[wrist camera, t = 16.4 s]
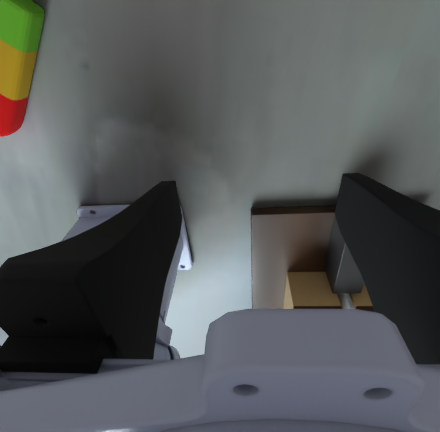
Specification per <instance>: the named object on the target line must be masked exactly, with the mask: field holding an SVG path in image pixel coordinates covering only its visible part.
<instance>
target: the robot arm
mask: <svg viewBox="0 0 440 432" xmlns="http://www.w3.org/2000/svg"><path fill="white" fill-rule="evenodd" d="M92 210H93V211H95V212H93V211H92ZM77 214H78V216H79V220H78V221H77V222H76V223H75V225H74V226H73V227H72V228H71V230H70V231H69V232H68V233H67V235H66V236H65V237H64V238H63V240H62V241H61V242H59V243H56V244H53V245H50V246H48V247H45V248H42V249H38V250H35V251H32V252H28V253H25V254H22V255H18V256H15V257H11V258H8V259H7V260H6V261H5V262H4V263H3V265H2V266H1V267H0V327H1V328H2V329H3V330H4V331H5V332H6V333H7V334H8V335H9V337H8V338H7V340H6V341H5V342H4V344H3V345H2V346H1V345H0V432H440V210H437V209H434V208H432V207H429V206H427V205H424V204H422V203H420V202H418V201H415V200H413V199H411V198H409V197H407V196H405V195H402V194H400V193H398V192H396V191H394V190H392V189H390V188H389V187H387V186H385V185H383V184H381V183H379V182H377V181H375V180H373V179H371V178H369V177H367V176H365V175H362V174H360V173H345V174H343V175H342V180H341V185H340V190H339V195H338V200H337V205H336V209H335V216H336V220H337V223H338V227H339V230H340V233H341V235H342V237H343V239H344V241H345V243H346V245H347V247H348V249H349V251H350V253H351V255H352V257H353V259H354V261H355V263H356V265H357V267H358V269H359V271H360V274H361V276H362V278H363V280H364V283H365V286H366V289H367V291H368V294H369V297H370V300H371V303H372V306H373V309H374V312H371V311H365V310H359V309H245V310H239V311H233V312H228V313H226V314H224V315H223V316H221V317H220V318H218V319H217V320H215V321H213V322H212V323H210V325H209V329H208V332H207V336H206V344H205V354H203V355H198V356H192V357H187V358H181V359H180V355H179V353H178V351H177V349H176V348H174V347H173V346H170V345H169V344H170V339H171V334H172V329H171V328H169V327H168V326H166V325H165V321H166V316H167V312H168V308H169V304H170V300H171V296H172V292H173V287H174V283H175V279H176V275H177V271H178V270H190V269H191V268H192V265H193V264H192V259H191V253H190V248H189V243H188V238H187V233H186V227H185V222H184V217H183V212H182V207H181V205H180V202H179V197H178V192H177V187H176V182H175V181H162V182H160V183H159V184H157V185H156V186H154V187H153V188H152V189H151V190H149V191H148V192H147V193H145V194H144V195H143V196H142V197H140V198H139V199H138V200H136V201H135V202H134V203H132V204H128V205H99V206H80V207H79V208H78V209H77ZM182 265H184V266H182Z"/></svg>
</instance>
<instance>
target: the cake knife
mask: <svg viewBox="0 0 440 432" xmlns="http://www.w3.org/2000/svg"><path fill="white" fill-rule="evenodd" d="M324 270H325V272H326V275H327V278H328V281H329V284H330V287H331V290H332V293H337V296H338V299H339V302H340V304H341V307H342V309H354V306H353V304H352V301H351V299H350V296H349V294H348V293H361V292H362V289H363V286H364V280H363V278H362V276H361V274H360V271H359V269H358V267H357V265H356V263H355V261H354V259H353V257H352V255H351V253H350V251H349V249H348V247H347V245H346V243H345V241H344V239H343V237H342V235H341V233H340V230H339V227H338V223H337V220H336V216H335V217H334V222H333V227H332V232H331V237H330V242H329V246H328V251H327V256H326V261H325V266H324Z"/></svg>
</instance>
